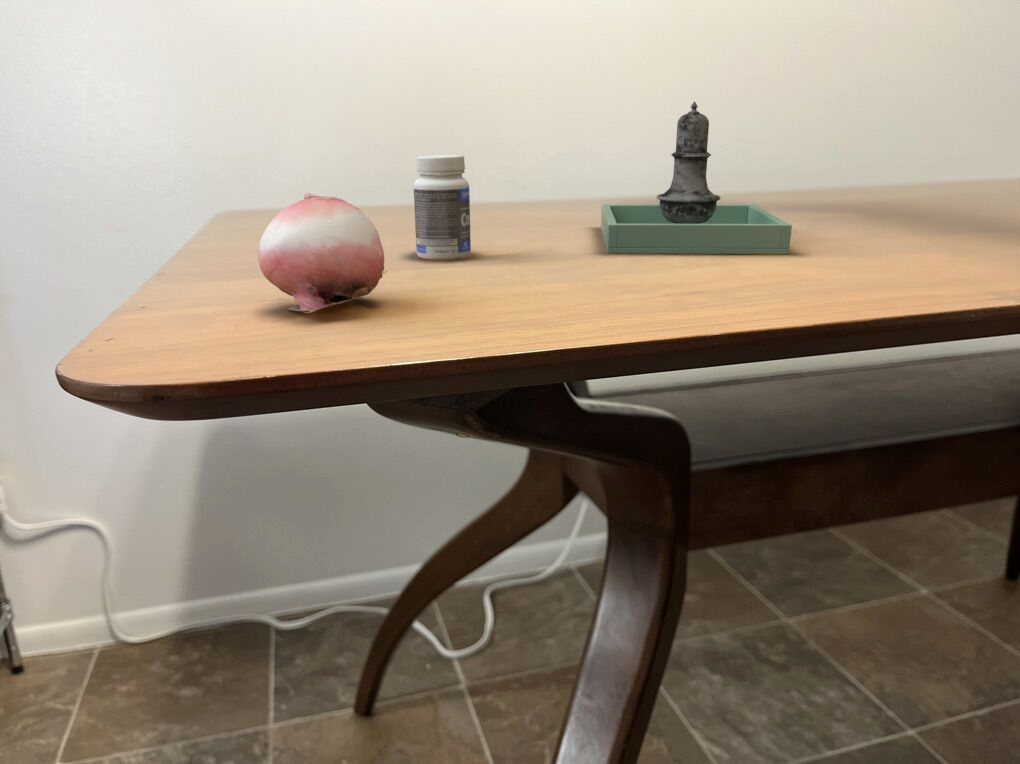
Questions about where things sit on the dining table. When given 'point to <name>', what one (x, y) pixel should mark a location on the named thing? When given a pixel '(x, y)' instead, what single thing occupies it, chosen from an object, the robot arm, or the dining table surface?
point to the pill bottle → (442, 208)
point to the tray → (694, 231)
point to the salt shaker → (689, 174)
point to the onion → (321, 252)
